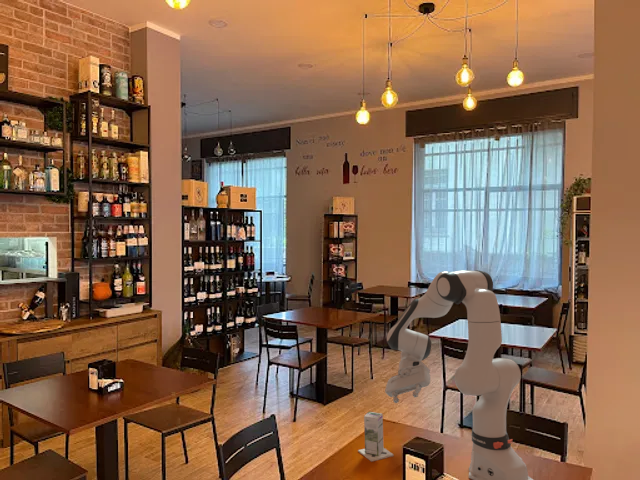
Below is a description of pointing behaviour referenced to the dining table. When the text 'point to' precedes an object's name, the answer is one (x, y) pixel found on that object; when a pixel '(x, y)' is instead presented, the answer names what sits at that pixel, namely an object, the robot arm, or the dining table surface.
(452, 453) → the dining table surface
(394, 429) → the dining table surface
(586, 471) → the dining table surface
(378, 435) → the syrup box
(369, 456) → the letter card
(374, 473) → the dining table surface
